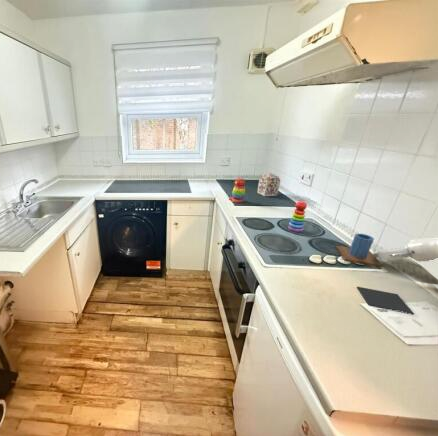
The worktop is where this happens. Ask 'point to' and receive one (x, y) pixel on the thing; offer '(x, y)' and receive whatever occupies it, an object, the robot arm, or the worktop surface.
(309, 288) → the worktop surface
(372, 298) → the mat
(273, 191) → the decorative jar
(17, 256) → the worktop surface
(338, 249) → the platform
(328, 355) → the worktop surface
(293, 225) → the stacking toy
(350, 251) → the blue ribbed cup
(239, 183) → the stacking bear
